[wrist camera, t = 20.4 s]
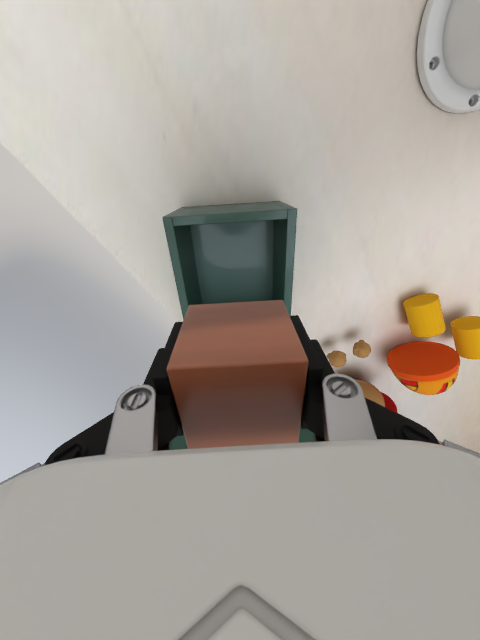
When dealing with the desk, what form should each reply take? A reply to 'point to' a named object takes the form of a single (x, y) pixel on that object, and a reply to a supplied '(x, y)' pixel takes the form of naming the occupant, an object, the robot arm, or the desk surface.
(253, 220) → the green storage box
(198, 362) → the block
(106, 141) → the desk surface
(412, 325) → the toy set
